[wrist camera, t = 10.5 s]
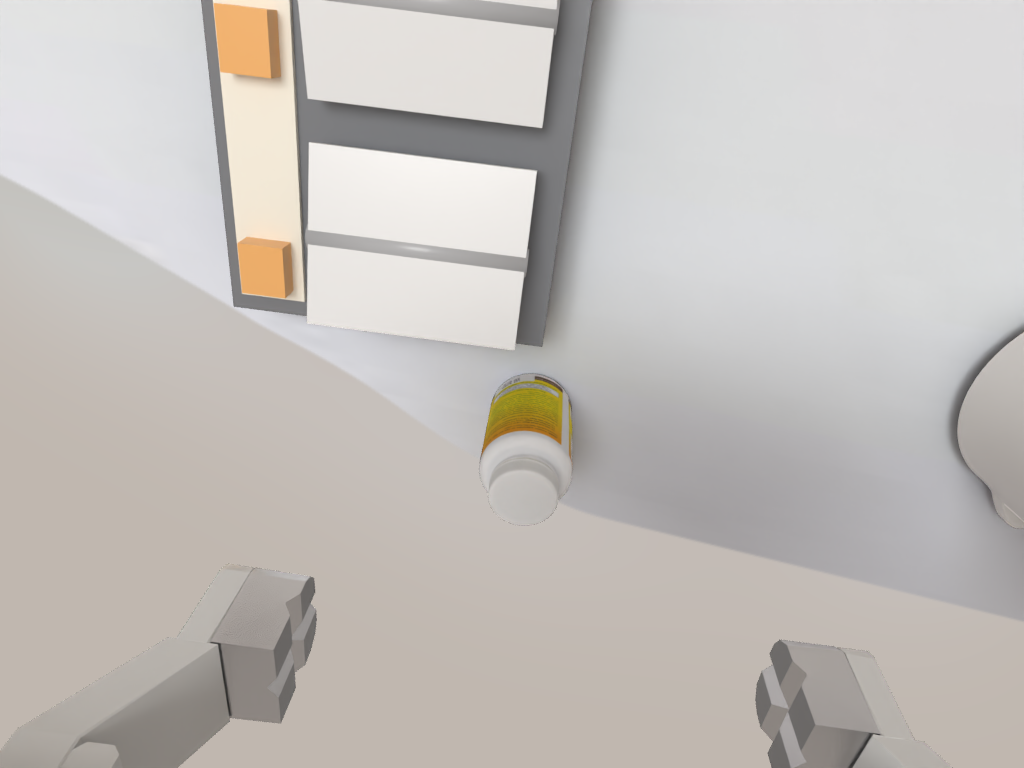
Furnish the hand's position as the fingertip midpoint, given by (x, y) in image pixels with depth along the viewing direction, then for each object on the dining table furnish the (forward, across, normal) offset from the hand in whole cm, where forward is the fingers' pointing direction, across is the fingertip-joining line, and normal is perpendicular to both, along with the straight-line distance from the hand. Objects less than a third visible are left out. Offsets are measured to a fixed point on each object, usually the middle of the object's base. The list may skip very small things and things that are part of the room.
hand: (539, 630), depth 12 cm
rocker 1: (+24, +7, -10) cm, 27 cm away
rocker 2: (+24, +7, +2) cm, 25 cm away
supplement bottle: (+31, 0, +14) cm, 34 cm away
